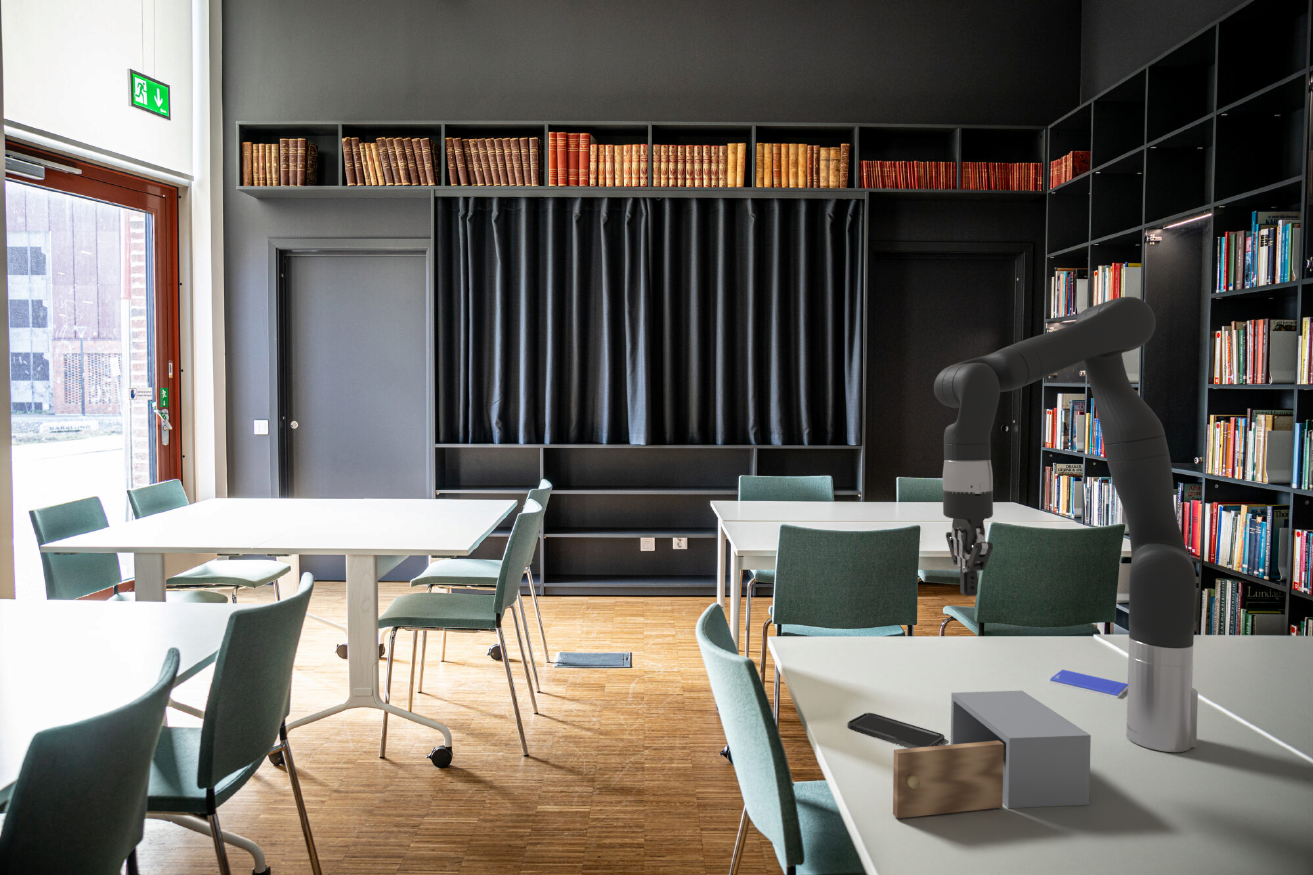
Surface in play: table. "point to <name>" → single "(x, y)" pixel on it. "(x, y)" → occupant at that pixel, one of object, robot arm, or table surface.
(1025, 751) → the storage box
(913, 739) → the phone
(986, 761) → the door
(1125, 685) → the hard drive
